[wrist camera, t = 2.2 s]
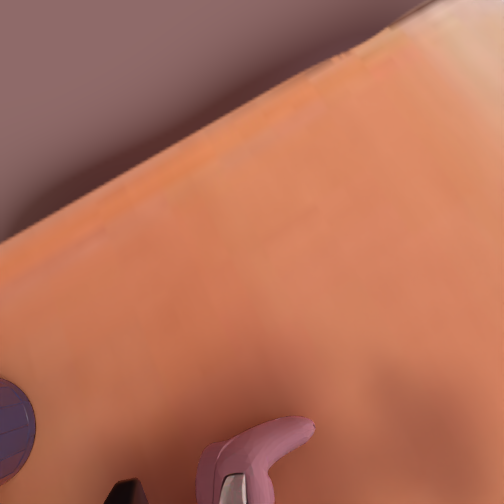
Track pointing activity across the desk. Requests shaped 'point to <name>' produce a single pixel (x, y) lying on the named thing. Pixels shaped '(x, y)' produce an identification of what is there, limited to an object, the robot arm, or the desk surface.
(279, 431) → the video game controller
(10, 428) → the pencil cup
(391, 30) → the desk surface
